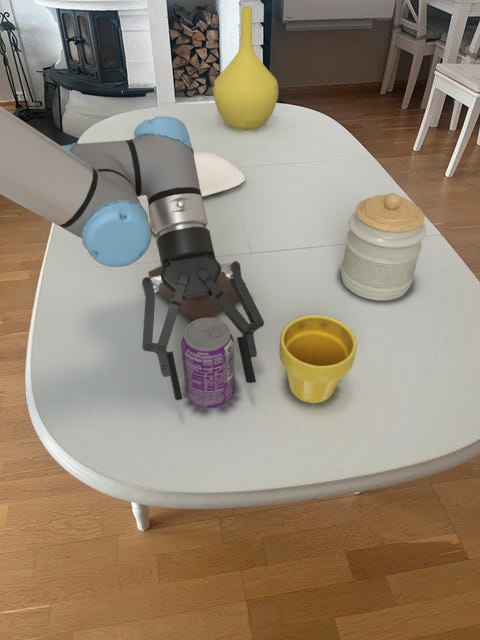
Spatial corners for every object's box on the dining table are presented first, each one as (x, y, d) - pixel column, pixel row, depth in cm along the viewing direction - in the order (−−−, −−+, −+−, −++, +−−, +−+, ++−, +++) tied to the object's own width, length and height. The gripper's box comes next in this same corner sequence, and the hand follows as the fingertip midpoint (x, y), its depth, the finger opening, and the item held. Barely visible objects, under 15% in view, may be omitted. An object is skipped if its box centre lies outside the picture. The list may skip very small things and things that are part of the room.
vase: (232, 141, 143) (232, 19, 123) (203, 119, 155) (199, 4, 135) (288, 129, 150) (296, 11, 130) (256, 108, 162) (259, -2, 142)
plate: (255, 186, 124) (255, 180, 123) (173, 211, 115) (172, 204, 114) (210, 153, 137) (210, 147, 136) (134, 173, 129) (133, 166, 128)
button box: (149, 286, 95) (146, 263, 92) (197, 262, 100) (196, 241, 97) (196, 324, 87) (195, 301, 84) (245, 297, 93) (246, 275, 89)
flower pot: (342, 421, 72) (352, 374, 66) (269, 405, 74) (272, 358, 68) (350, 368, 80) (360, 321, 73) (284, 355, 82) (289, 308, 75)
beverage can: (223, 369, 80) (222, 309, 72) (242, 402, 75) (242, 343, 67) (179, 382, 78) (173, 323, 70) (195, 417, 73) (190, 358, 65)
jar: (389, 312, 90) (412, 223, 78) (326, 282, 96) (338, 196, 84) (423, 278, 97) (448, 192, 85) (362, 252, 103) (378, 168, 92)
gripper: (99, 239, 66) (135, 412, 65) (264, 212, 71) (299, 373, 70) (102, 251, 73) (134, 407, 73) (252, 226, 78) (283, 372, 78)
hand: (215, 390), depth 71 cm, fingers open, 10 cm apart
